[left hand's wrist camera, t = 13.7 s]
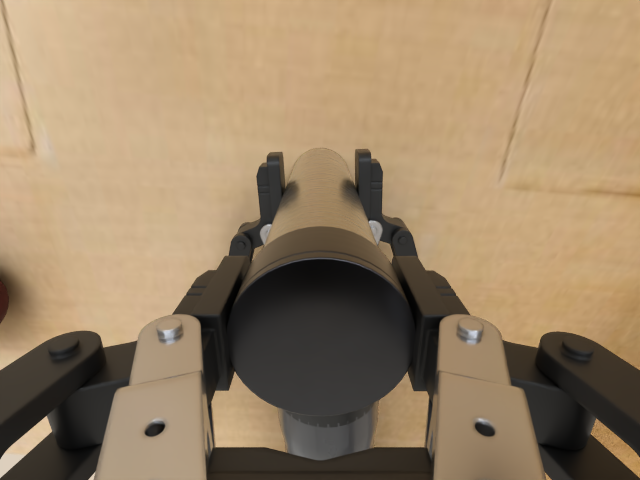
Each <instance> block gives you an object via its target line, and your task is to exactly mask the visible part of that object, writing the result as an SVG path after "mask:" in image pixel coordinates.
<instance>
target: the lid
mask: <svg viewBox="0 0 640 480" xmlns="http://www.w3.org/2000/svg"><path fill="white" fill-rule="evenodd" d="M226 329H227V340H228V348H229V357H230V361H231V364H232V366H233V368H234V370H235V372H236V374H237V375H238V377H239V378H240V379H241V381H242V382H243V383H244V384H245V385H246V386H247V387H248V388H249V389H250V390H251V391H252V392H253V393H254V394H256V395H257V396H258V397H260V398H261V399H263V400H264V401H266V402H268V403H269V404H271V405H274V406H276V407H278V408H280V409H283V410H286V411H289V412H293V413H297V414H302V415H309V416H333V415H340V414H346V413H349V412H353V411H357V410H359V409H362V408H364V407H367V406H369V405H371V404H373V403H375V402H376V401H378V400H379V399H381V398H383V397H384V396H385V395H387V394H388V393H389V392H390V391H391V390H393V389H394V388H395V386H396V385H397V384H398V383H399V382H400V381H401V380H402V378H403V377H404V375H405V374H406V373H407V371H408V369H409V367H410V365H411V363H412V359H413V351H414V343H415V334H416V323H415V319H414V316H413V313H412V310H411V308H410V305H409V303H408V301H407V298H406V296H405V294H404V291H403V289H402V287H401V284H400V282H399V280H398V277H397V275H396V273H395V270H394V268H393V266H392V264H391V263H390V261H389V260H388V258H387V257H386V255H385V254H384V253H383V252H382V251H381V250H380V249H379V248H378V247H377V246H376V245H374V244H373V243H372V242H371V241H369V240H367V239H366V238H364V237H363V236H361V235H358V234H356V233H354V232H351V231H348V230H345V229H342V228H336V227H328V226H315V227H306V228H301V229H297V230H294V231H291V232H288V233H286V234H284V235H282V236H280V237H278V238H276V239H275V240H273V241H272V242H270V243H269V244H268V245H266V246H265V247H264V248H263V249H262V250H261V251H260V252H259V253H258V254H257V256H256V257H255V258H254V260H253V261H252V263H251V264H250V266H249V268H248V271H247V273H246V275H245V278H244V280H243V282H242V285H241V287H240V289H239V292H238V294H237V297H236V299H235V301H234V304H233V306H232V309H231V311H230V313H229V317H228V321H227V324H226Z"/></svg>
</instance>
